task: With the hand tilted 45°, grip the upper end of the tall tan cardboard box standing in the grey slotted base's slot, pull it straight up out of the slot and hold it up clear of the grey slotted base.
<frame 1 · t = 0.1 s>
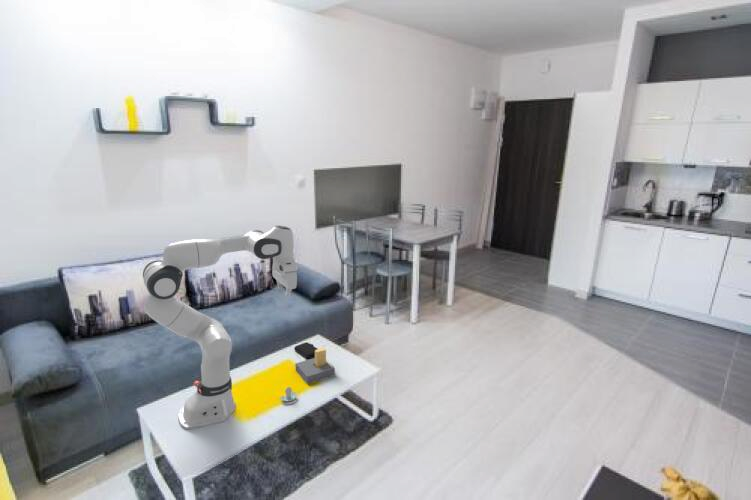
hand: (284, 292, 177), 48 cm above the table, tool pointing down, fingers open, 8 cm apart
carrying case or bag: (308, 352, 223), on the table
grey slotted base: (314, 372, 203), on the table
tall tan cardboard box: (320, 371, 205), resting in grey slotted base
pacifier: (289, 401, 180), on the table
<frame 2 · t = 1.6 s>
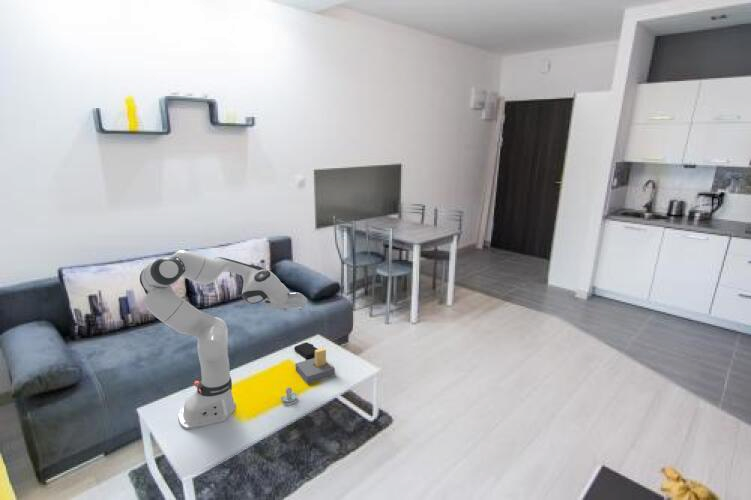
hand: (294, 309, 196), 33 cm above the table, tool tilted 40°, fingers open, 8 cm apart
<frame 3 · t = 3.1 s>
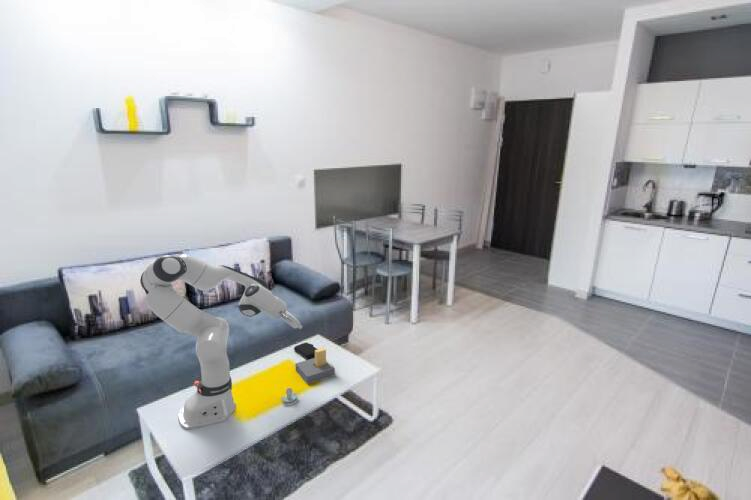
hand: (297, 323, 190), 29 cm above the table, tool tilted 45°, fingers open, 8 cm apart
nothing on the table moved.
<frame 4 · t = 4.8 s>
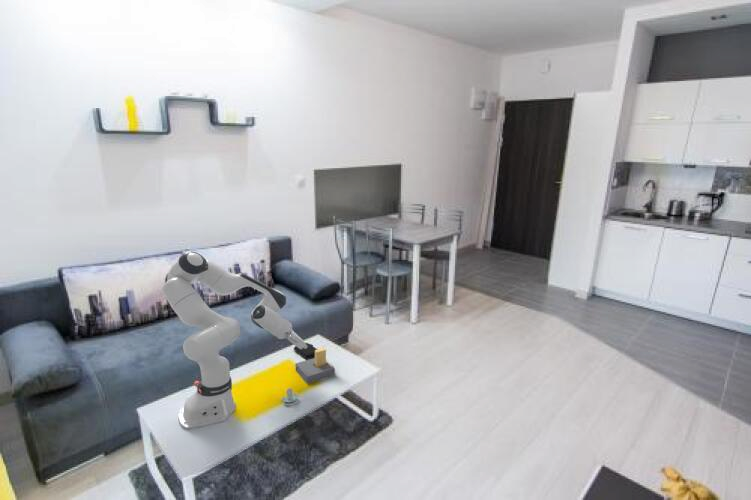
hand: (302, 343, 195), 18 cm above the table, tool tilted 45°, fingers open, 8 cm apart
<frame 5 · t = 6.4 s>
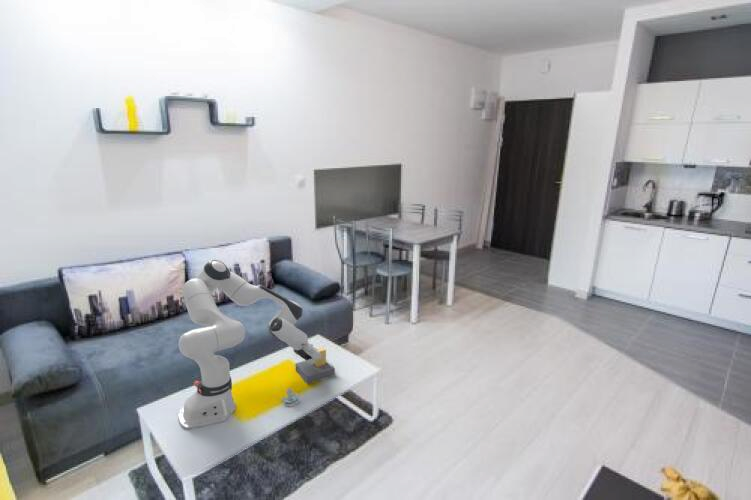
hand: (316, 353, 201), 10 cm above the table, tool tilted 45°, fingers open, 8 cm apart
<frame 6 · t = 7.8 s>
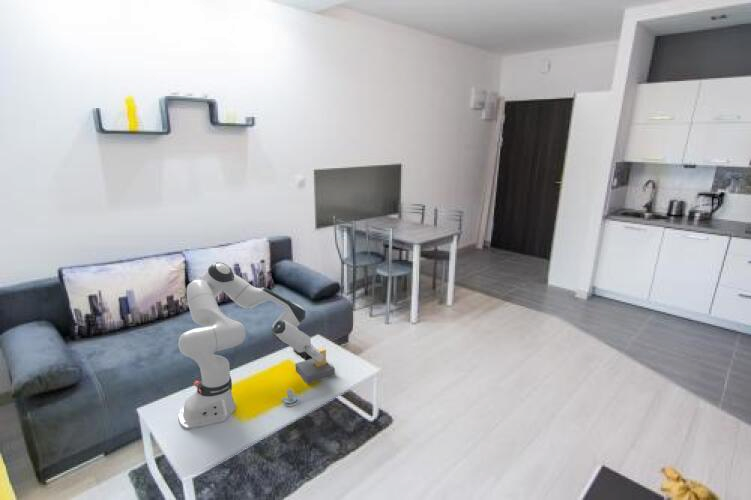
hand: (319, 355, 202), 9 cm above the table, tool tilted 45°, fingers closed on tall tan cardboard box, 2 cm apart
tall tan cardboard box: (320, 371, 205), resting in grey slotted base, touching gripper
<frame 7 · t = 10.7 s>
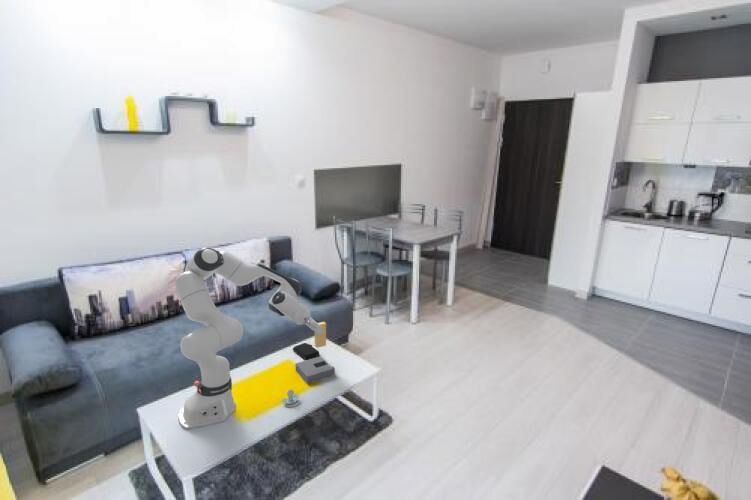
hand: (319, 329, 198), 23 cm above the table, tool tilted 45°, fingers closed on tall tan cardboard box, 2 cm apart
tall tan cardboard box: (320, 345, 201), point 15 cm above the table, touching gripper
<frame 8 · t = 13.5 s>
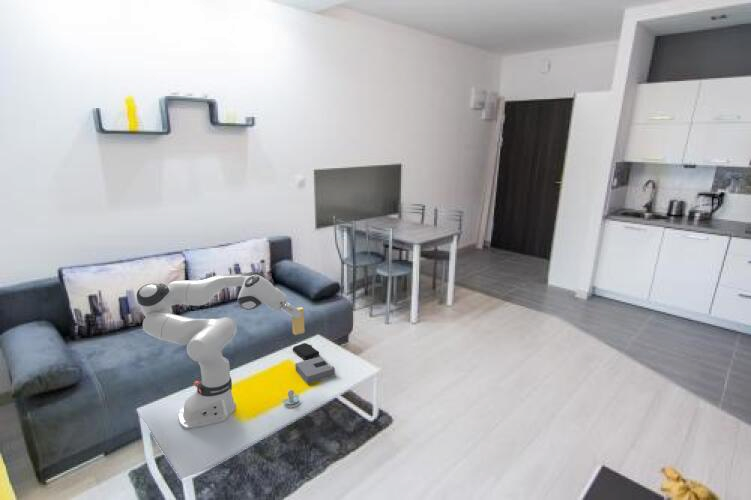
hand: (297, 315, 189), 33 cm above the table, tool tilted 45°, fingers closed on tall tan cardboard box, 2 cm apart
tall tan cardboard box: (298, 332, 191), point 25 cm above the table, touching gripper
at the end: tall tan cardboard box point 24.6 cm above the table; the gripper is holding tall tan cardboard box; tall tan cardboard box moved 27.3 cm from its start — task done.
